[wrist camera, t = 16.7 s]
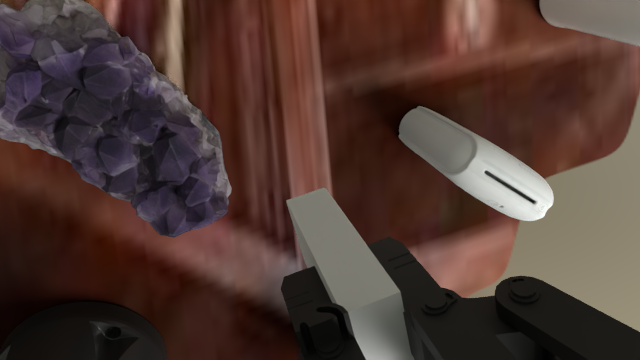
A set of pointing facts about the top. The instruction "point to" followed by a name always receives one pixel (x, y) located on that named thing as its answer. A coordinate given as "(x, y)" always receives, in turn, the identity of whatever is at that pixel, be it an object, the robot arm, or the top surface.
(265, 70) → the top surface
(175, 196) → the geode
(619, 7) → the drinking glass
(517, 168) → the white slotted device
